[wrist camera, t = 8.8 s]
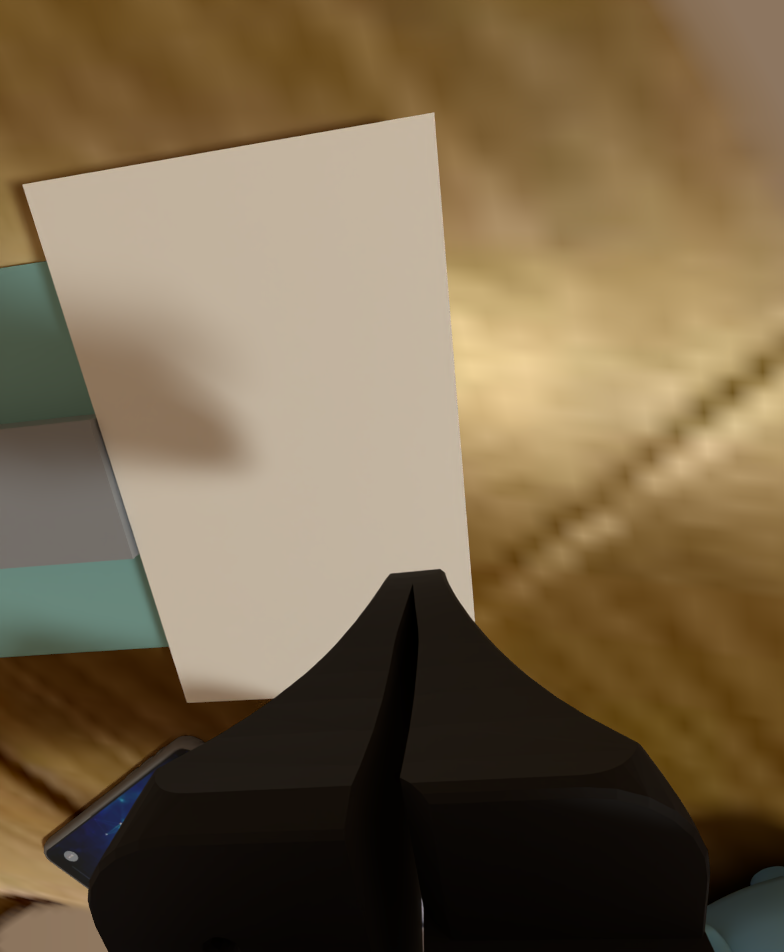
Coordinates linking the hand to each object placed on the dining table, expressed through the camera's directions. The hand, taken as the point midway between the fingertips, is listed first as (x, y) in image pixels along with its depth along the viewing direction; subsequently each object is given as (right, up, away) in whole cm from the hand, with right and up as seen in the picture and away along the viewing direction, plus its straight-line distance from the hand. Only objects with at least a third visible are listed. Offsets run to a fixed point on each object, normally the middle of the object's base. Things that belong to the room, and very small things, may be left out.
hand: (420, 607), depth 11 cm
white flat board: (-5, +4, +9) cm, 11 cm away
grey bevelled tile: (-16, +3, +10) cm, 19 cm away
